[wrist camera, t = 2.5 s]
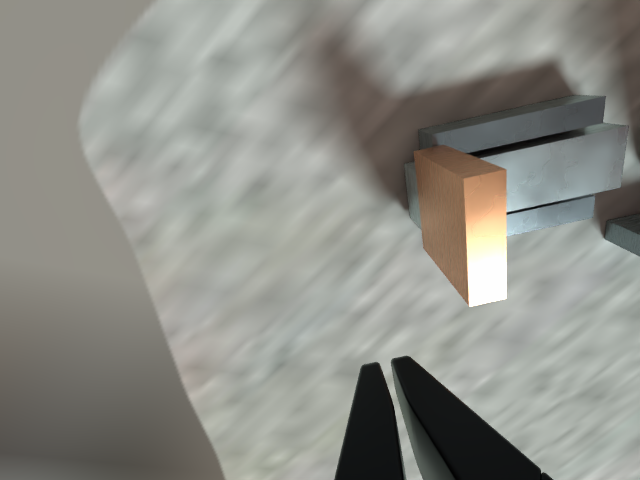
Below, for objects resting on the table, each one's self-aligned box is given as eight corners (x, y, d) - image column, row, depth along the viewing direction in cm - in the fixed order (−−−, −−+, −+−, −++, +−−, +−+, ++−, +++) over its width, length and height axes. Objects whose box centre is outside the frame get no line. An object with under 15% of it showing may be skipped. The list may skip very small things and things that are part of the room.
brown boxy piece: (597, 101, 18) (775, 110, 11) (588, 195, 20) (735, 250, 13) (401, 144, 18) (463, 178, 12) (411, 233, 20) (469, 306, 14)
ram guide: (574, 95, 18) (605, 96, 16) (566, 205, 21) (592, 217, 19) (418, 129, 18) (432, 134, 17) (428, 235, 21) (441, 250, 19)
